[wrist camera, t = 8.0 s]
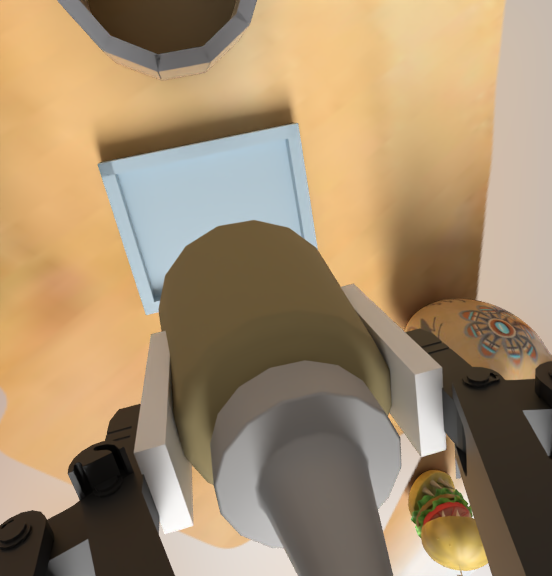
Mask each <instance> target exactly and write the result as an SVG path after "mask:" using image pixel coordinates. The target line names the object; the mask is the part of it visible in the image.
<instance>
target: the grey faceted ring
mask: <svg viewBox="0 0 552 576" xmlns="http://www.w3.org/2000/svg"><path fill="white" fill-rule="evenodd" d="M57 1H58V2H59V3H60V4H61V5H62V6H63V8H64V9H65V10H66V11H67V12H68V13H69V14H70V15H71V16H72V18H73V19H74V20H75V21H76V22H77V23H78V24H79V25H80V26H81V28H82V29H83V30H84V31H85V32H86V33H87V34H88V35H89V36H90V38H91V39H92V40H93V41H94V42H95V43H96V44H97V45H98V46H99V48H100V49H101V50H102V51H103V52H105V53H106V54H107V55H108V56H109V57H110V58H111V59H112V60H113V61H114V62H116V63H117V64H120V65H122V66H125V67H128V68H130V69H133V70H136V71H138V72H141V73H143V74H146V75H149V76H151V77H154V78H156V79H159V80H168V79H173V78H178V77H184V76H189V75H195V74H200V73H205V72H207V71H208V70H209V69H210V68H211V67H212V66H213V65H214V64H215V63H216V62H217V61H218V60H219V59H220V58H221V57H222V56H223V55H224V54H225V53H227V52H228V51H229V50H230V49H231V48H232V47H233V46H234V45H235V44H236V43H237V42H238V41H239V39H240V38H241V36H242V35H243V34H244V32H245V31H246V29H247V28H248V26H249V25H250V22H251V19H252V15H253V12H254V9H255V5H256V2H257V0H236V3H235V6H234V10H233V13H232V17H231V20H229V21H228V22H227V23H226V24H225V25H224V26H223V27H222V28H221V29H220V30H219V31H218V32H217V33H216V34H215V35H214V36H213V37H212V38H211V39H210V40H209V41H208V42H207V43H206V44H205V45H204V46H201V47H196V48H190V49H184V50H179V51H173V52H168V53H162V54H156V53H153V52H151V51H148V50H146V49H143V48H141V47H138V46H136V45H133V44H130V43H128V42H125V41H123V40H120V39H118V38H115V37H113V36H110V35H109V33H108V32H107V31H106V30H105V29H104V28H103V27H102V25H101V24H100V23H99V22H98V21H97V20H96V19H95V18H94V16H93V15H92V14H91V11H90V7H89V4H88V0H57Z"/></svg>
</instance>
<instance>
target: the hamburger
mask: <svg viewBox="0 0 552 576" xmlns="http://www.w3.org/2000/svg"><path fill="white" fill-rule="evenodd" d="M467 505H468V503H467V502H466V501H465V500H464V499H463V496H462V494H461V493H459V492H458V491H457V490H455V488H454V485H453V482H452V479H451V477H450V476H449V475H448V474H446V473H445V472H443V471H439V470H429V471H426V472H424V473H423V474H421V475H420V476H419V477H418V478H417V479H416V480H415V482H414V484H413V485H412V487H411V490H410V493H409V499H408V506H409V511H410V514H411V516H412V518H411V520H412V521H413V522H414V523H415V524H416V527H415V528H416V531H417V533H418V536H419V537H420V538H421V539H422V544H423V547H424V549H425V551H426V552H427V553H428V555H429V556H430V557H431V558H432V559H433V560H434V561H436V562H437V563H439V564H441V565H443V566H444V567H447V568H450V569H454V570H460V571H461V570H463V571H468V570H474V569H478V568H480V567H482V566H484V565H486V564H487V563H488V560H487V557H486V554H485V550H484V547H483V544H482V541H481V538H480V534H479V531H478V528H477V525H476V522H475V519H473V518H472V509H471V506H469V507H468V506H467ZM457 576H462V572H461V575H457Z"/></svg>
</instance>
